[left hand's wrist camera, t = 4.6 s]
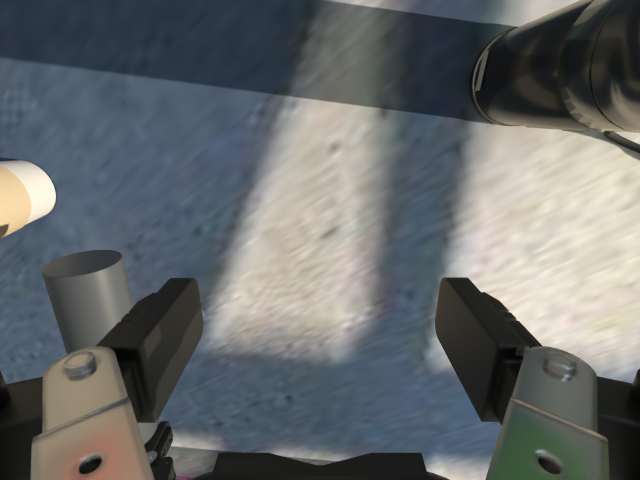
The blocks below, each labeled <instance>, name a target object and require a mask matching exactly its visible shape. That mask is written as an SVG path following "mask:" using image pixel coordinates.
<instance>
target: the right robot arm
mask: <svg viewBox="0 0 640 480" xmlns="http://www.w3.org/2000/svg"><path fill="white" fill-rule="evenodd" d="M172 441H173V434H172V429H171V427H170V425H169V422H168V421H161V422H160V424H159V426H158V428H157V430H156V432H155V434H154V435H153V437H152V439H151V441H150V443H149V445H148V447H147V449H146V453H147V457H148V460H149V463H150V467H151V470H152V473H153V477H154V480H176V474H175V472H174V467H173V459H172V458H171V457H165V456H166V454H167V452H168V450H169V448H170V445H171V443H172Z"/></svg>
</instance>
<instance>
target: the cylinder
mask: <svg viewBox="0 0 640 480" xmlns="http://www.w3.org/2000/svg"><path fill="white" fill-rule="evenodd" d="M42 274H43V278H44V281H45V284H46V287H47V290H48V294H49V297H50V300H51V303H52V307H53V310H54V313H55V316H56V320H57V323H58V326H59V329H60V332H61V336H62V339H63V342H64V345H65V349H66V352H67V354H70V353H72V352H74V351H77V350H80V349H84V348H88V347H95V346H96V345H97V344H98V343H99V342H100V341H101V340H102V339H103V338H104V337H105V336H106V335H107V334H108V332H109V331H110V330H111V329H112V328H113V327H114V326H115V325H116V324H117V323H118V322H121V319H122V318H123V317H124V316H125V315H126V314H127V313H129V311H130V310H131V309H132V308H133V303H132V299H131V294H130V289H129V285H128V280H127V275H126V271H125V266H124V261H123V257H122V254H121V253H119V252H117V251H112V250H94V251H86V252H80V253H76V254H72V255H68V256H65V257H62V258H59V259H57V260H54V261H52V262H50V263H49V264H47V265H46V266H45V267H44V268H43V269H42ZM137 424H138V427H139V430H140V434H141V437H142V440H143V444H144V447H145V450H146V449H147V447H148V445H149V443H150V441H151V439H152V437H153V435H154V434H155V432H156V430H157V428H158V426H159V424H158V420H157V421H156V423H137Z"/></svg>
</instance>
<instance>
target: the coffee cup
mask: <svg viewBox="0 0 640 480" xmlns="http://www.w3.org/2000/svg"><path fill="white" fill-rule="evenodd" d="M55 200H56V194H55V189H54V186H53V184H52V182H51V180H50V178H49V177H48V176H47V174H46V173H45V172H44V171H43V170H41V169H40V168H39V167H37V166H36V165H34V164H32V163H29V162H26V161H21V160H16V161H0V238H2V237H4V236H6V235H8V234H10V233H12V232H14V231H16V230H18V229H20V228H22V227H23V226H24V225H26V224H28V223H30V222H32V221H34V220H36V219H38V218H40V217H42V216H44V215H46V214H48V213H49V212H50V211H51V210H52V208H53V207H54V204H55Z"/></svg>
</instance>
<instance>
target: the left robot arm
mask: <svg viewBox="0 0 640 480" xmlns="http://www.w3.org/2000/svg"><path fill="white" fill-rule="evenodd" d="M470 88H471V96H472V100H473V103H474V105H475V107H476V109H477V110H478V112H479V113H480V114H481V115H482V116H483V117H484V118H485V119H487V120H488V121H490V122H492V123H494V124H497V125H504V126H516V125H519V126H526V127H529V128H544V129H559V130H566V131H580V132H583V131H590V130H599V131H604V135H605V136H606V137H608V138H609V139H611V140H612V141H614V142H616V143H618V144H620V145H622V146H624V147H627V148H629V149H631V150H634V151H636V152H639V153H640V145H639V144H637V143H635V142H632V141H630V140H628V139H626V138H624V137H622V136H620V135H618V134H616V133H615V132H614V131H619V132H635V133H640V0H580V1H578V2H575V3H573V4H571V5H569V6H566V7H564V8H562V9H559V10H557V11H555V12H552V13H550V14H548V15H546V16H543V17H541V18H539V19H536V20H534V21H532V22H529V23H527V24H525V25H522V26H520V27H516V28H513V29H511V30H508V31H506V32H504V33H502V34H500V35H499V36H497V37H496V38H495V39H493V40H492V41H491V42H490V43H489V44H488V45H487V46H486V47H485V48H484V50H483V51H482V52H481V54H480V55H479V57H478V59H477V61H476V63H475V66H474V68H473V71H472V76H471V85H470ZM435 329H436V334H437V337H438V339H439V341H440V343H441V345H442V347H443V349H444V351H445V353H446V355H447V357H448V358H449V360H450V362H451V364H452V366H453V368H454V370H455V372H456V374H457V376H458V378H459V379H460V381H461V383H462V385H463V387H464V389H465V391H466V393H467V395H468V397H469V399H470V400H471V402H472V404H473V406H474V408H475V410H476V412H477V414H478V416H479V418H480V420H481V421H482V422H500V424H501V425H502V427H501V430H500V434H499V437H498V440H497V444H496V447H495V450H494V453H493V457H492V460H491V463H490V467H489V470H488V473H487V477H486V480H640V369H639V370H638V371H637V374H636V376H635V379H634V381H633V384H632V383H627V382H622V381H617V380H612V379H607V378H603V377H598V376H597V375H596V373H595V371H594V370H593V369H592V368H591V367H590V366H589V365H588V364H587V363H586V362H584V361H583V360H581V359H580V358H578V357H576V356H575V355H573V354H570V353H568V352H566V351H563V350H560V349H556V348H552V347H545V346H542V345H541V344H540V343H539V342H538V341H537V340H536V339H535V338H534V337H533V336H532V334H531V333H530V332H529V331H528V330H527V329H526V328H525V327H524V326H523V325H522V324H521V323H520V322H519V321H517V320H516V318H515V317H514V316H513V315H512V314H511V313H509V310H508V309H507V308H506V307H505V306H504V305H503V304H502V303H501V302H500V301H499V300H497V299H495V298H494V297H492V296H490V295H488V294H487V293H485V292H480V291H479V290H478V288H477V287H476V286H475V285H474V284H473V283H472V282H471V281H470V280H469V279H468V278H443V279H442V280H441V283H440V288H439V295H438V302H437V310H436V317H435ZM202 331H203V316H202V309H201V302H200V294H199V287H198V283H197V280H196V279H195V278H170V279H169V280H168V281H167V282H166V283H165V284H164V286H163V287H162V288H161V289H160V290H159V291H158V292H157V293H152V294H150V295H149V296H147V297H145V298H144V299H142V300H140V301H138V302H137V303H136V304H135V306H134V307H133V308H132V309H131V310H130V311H129V313H127V314H126V315H125V316H124V317H123V318H122V319H121V322H118V323H117V324H116V325H115V326H114V327H113V328H112V329H111V330H110V331H109V332H108V334H107V335H106V336H105V337H104V338H103V339H102V340H101V341H100V342H99V343H98V344H97V345H96V346H95V347H88V348H84V349H80V350H77V351H74V352H72V353H70V354H67V355H65V356H64V357H62V358H60V359H59V360H57V361H56V362H54V363H53V364H52V365H51V366H50V367H49V368H48V369H47V370H46V371H45V373H44V375H43V377H40V378H35V379H30V380H25V381H20V382H16V383H11V384H6V383H5V381H4V379H3V376H2V374H1V372H0V480H154V477H153V473H152V470H151V467H150V463H149V460H148V457H147V453H146V450H145V447H144V444H143V440H142V437H141V434H140V430H139V427H138V424H137V423H156V421H157V420H158V418H159V416H160V414H161V412H162V410H163V408H164V406H165V405H166V403H167V401H168V399H169V397H170V395H171V393H172V391H173V389H174V388H175V386H176V384H177V382H178V380H179V378H180V376H181V374H182V372H183V371H184V369H185V367H186V365H187V363H188V361H189V359H190V357H191V355H192V354H193V352H194V350H195V348H196V346H197V344H198V342H199V340H200V338H201V335H202ZM191 480H449V479H447V478H445V477H442V476H439V475H437V474H434V473H431V472H427V471H426V468H425V464H424V461H423V457H422V454H421V453H369V454H365V455H362V456H358V457H354V458H350V459H346V460H342V461H339V462H335V463H331V464H327V465H322V466H318V465H313V464H309V463H305V462H301V461H298V460H294V459H290V458H286V457H282V456H278V455H275V454H271V453H219V454H218V457H217V461H216V464H215V468H214V471H213V472H209V473H206V474H203V475H201V476H198V477H195V478H193V479H191Z"/></svg>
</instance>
